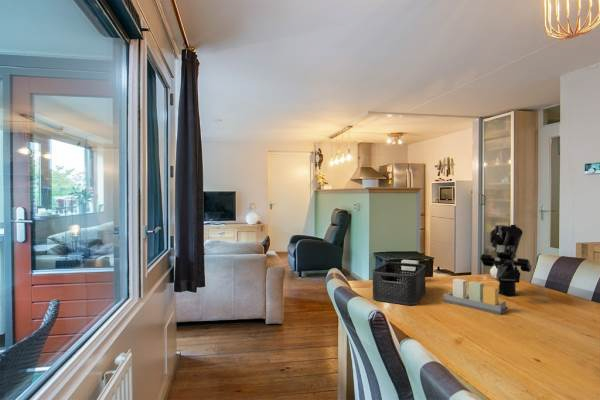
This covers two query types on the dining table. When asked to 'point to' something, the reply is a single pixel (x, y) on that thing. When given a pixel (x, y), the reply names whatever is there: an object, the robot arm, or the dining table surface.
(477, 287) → the pale green tall block
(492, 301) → the orange block
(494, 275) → the geometric ball
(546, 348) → the dining table surface
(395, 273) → the storage bin
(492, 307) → the grey divided tray
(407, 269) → the ink box
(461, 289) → the white rectangular block
